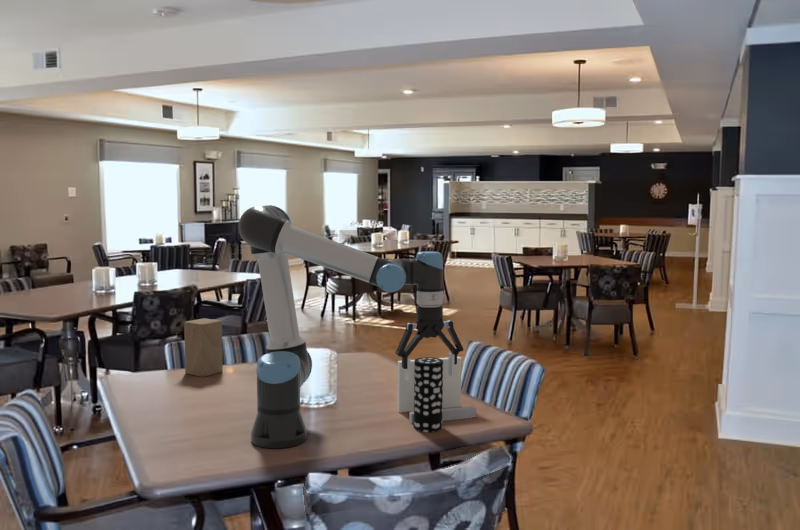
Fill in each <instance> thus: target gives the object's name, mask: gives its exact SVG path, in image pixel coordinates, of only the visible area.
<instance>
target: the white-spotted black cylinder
mask: <svg viewBox="0 0 800 530" xmlns="http://www.w3.org/2000/svg"><path fill="white" fill-rule="evenodd" d="M439 358H440V357H430V356H427V357H426V356H425V357H417V358H415V359H414V360H415V367H414V411H413V412H414V424H413V429H414V430H416V431H418V432H422V433H436V432H440V431H441V430H442V429H443V421H442V409H443V408H442V405H443V360H442V359H439Z"/></svg>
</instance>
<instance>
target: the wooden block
mask: <svg viewBox="0 0 800 530" xmlns="http://www.w3.org/2000/svg"><path fill="white" fill-rule="evenodd" d="M183 325H184V326H183V328H184V329H183V331H184V332H183V335H184V370H185V371H184V372H185V374H187V375H190V376H194V377H195V376H197V377H201V378H205V377H208V376H212V375H216V374H220V373H223V370H224V369H223V367H224V365H223V361H224V360H223V321H222V320H219V319H212V318H211V319H210V318H205V317H203V318H199V319H193V320H186V321H184V323H183Z"/></svg>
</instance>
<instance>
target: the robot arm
mask: <svg viewBox="0 0 800 530" xmlns="http://www.w3.org/2000/svg"><path fill="white" fill-rule="evenodd" d="M238 233H239V235H240V238H241V239H242V240H243V241H244V242H245V243H246V244H247V245H248V246H249V248H250V253H251V256H252V257H254V258H255V259H256V260H257V264H258V271H259V278H260V283H261V289H262V296H263V302H264V303H263V304H264V309H265V314H266V315H265V317H266V322H267V329H268V334H269V339H270V340H269V342H268V343H267V345H266V346H265V350H266V353H265V354H263V355H261V356H260V357H259V358H258V360H257V363H256V364H257V365H256V369H255V370H256V372H255V373H256V397H257V398H256V400H257V402H256V403H257V409H256V410H257V411H256V413H257V414H256V417H255V419H254V423H253V425H252V429H251V432H250V435H251V436H250V441H251V443H252V444H253V445H255V446H257V447H259V448H260V447H261V448H265V449H285V448H286V449H287V448H291V447H296V446H299V445H301V444H303V443H304V442H306V440H307V438H308V437H307V434H308V433H307V431H308V430H307V427H306V425H305V421H304V418H303V415H302V412H301V387H302V386H303V385H304V384H305V382H306V381H308V379H309V378H310V376H311V373H312V369H313V359H312V357H311V355H310V352H308V349H307V343H306V339H305V338H303V337H301V335H300V330H299V323H298V317H297V311H296V306H295V305H296V304H295V298H294V291H293V285H292V284H293V283H292V277H291V271H290V265H289V257H288V256H293V257H295V258H298V259H301V260H304V261H307V262H310V263H312V264H315V265H318V266H320V267H323V268H326V269H329V270H332V271H335V272H337V273H341V274H343V275H346V276H349V277H351V278H354V279H357V280H360V281H363V282H366V283H368V284H371V285H373V286H376V287H378V288H379V289H381V290H382V291H384V292H387V293H394V292H397V291H399V290H401V289H402V288H403V287H404V286H407V285H408V286H409V285H410V286H415V285H416V304H417V306H416V322H415V323H410V322H406V324H405V330H404V333H403V335H402V337H401V340H400V342H399V344H398V346H397V348H396V350H395V353H394V354H396V356H398V357H401V361H402V368H403V369H405V379H406V380H408V381H411V365H410V360H411V357H410V355H411V354H412V353H413V350H415V348H416V347H417V346H418V344H419V343H420V342H421V340H423V339H425V338H426V339H430V338H437V337H438V338H439V339H440V340H441V342H442V343H443V344H444V345H445V346H446V347H447V349H448V350H449V351H450V352H448V356H447V357H448V375H450V376H452V377H454V365H455V364H457V357H458V356H459V353H461V352H463V351H464V347H463V344H462V342H461V341H460V339H459V337H458V334H457V332H456V330H455V328H454V327H455V326H454V322H453V321H452V320H449V319H447V320H446V321H444V318H443V317H444V313H443V312H444V308H443V306H442V304H443V303H444V302H443V301H444V292H443V291H444V290H443V288H444V266H443V265H444V263H443V262H444V261H443V260H444V259H443V254H442V253H441V252H439V251H418V252H417V253H416V258H383V257H379V256H376V255H374V254H370V253H368V252H365V251H362V250H360V249H357V248H355V247H351V246H348V245H346V244H343V243H341V242H337V241H335V240H332V239H329V238H327V237H324V236H321V235H319V234H316V233H313V232H310V231H307V230H305V229H302V228H299V227H296V226H294V225H292V221H291V218H290V216H289V214H288V213H286V211H285V210H283V209H282V208H280V207H278V206H276V205H272V204H271V205H269V204H268V205H266V204H265V205H256V206H252V207H250V208H248V209H246V210H244V212H243V213H242V214H241V216H240V218H239V221H238ZM444 328H445V329H447V330H446V331H447V332H448V334H449V336H450V338H451V340H452V342H453V344H454V345H453V344H452V342H451V341H450V340H449V339H448V338H447V337H446V335H445V334H444V333H443V331H442V330H443V329H444ZM415 329H416V330H417V331H416V333H415V334H414V336H413V338H412V339H411V340H410V338H411V336H412V334H413V331H414V330H415ZM409 340H410V342H409Z"/></svg>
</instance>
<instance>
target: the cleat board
mask: <svg viewBox="0 0 800 530" xmlns="http://www.w3.org/2000/svg"><path fill="white" fill-rule="evenodd" d="M438 358H439V359H442V360H443V405H442V422H444V420H445V421H454V419H455V420H464V418H465V419H473V418H472V417H475V418H477V414H476V413H477V407H475V406H474V405H469V406H461V405H462V403H461V402H462V400H461V399H462V362H463V361H462V359H463V358H462V357H461V356H457V364H455V365H454V377H452V376H450V375H448V356H447V357H438ZM410 365H411V381H408V380H406V379H405V369H403V368H402V360H397V373H396V374H397V376H396V377H397V382H396V383H397V385H396V387H397V388H396V389H397V392H396V393H397V394H396V412H398V413H407V412H409V415H408V417H409V418H408V420H409V423H410V424H411V425H414V367H415V359H410Z"/></svg>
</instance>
